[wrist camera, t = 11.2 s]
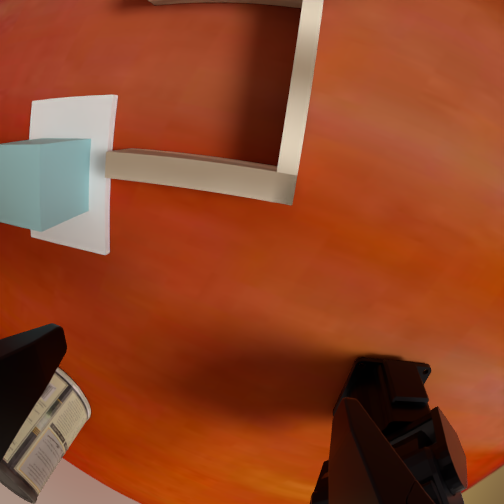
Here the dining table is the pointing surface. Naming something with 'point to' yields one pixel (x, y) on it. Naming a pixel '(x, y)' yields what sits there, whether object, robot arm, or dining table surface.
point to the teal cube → (44, 181)
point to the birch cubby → (230, 170)
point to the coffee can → (44, 437)
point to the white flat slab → (101, 134)
